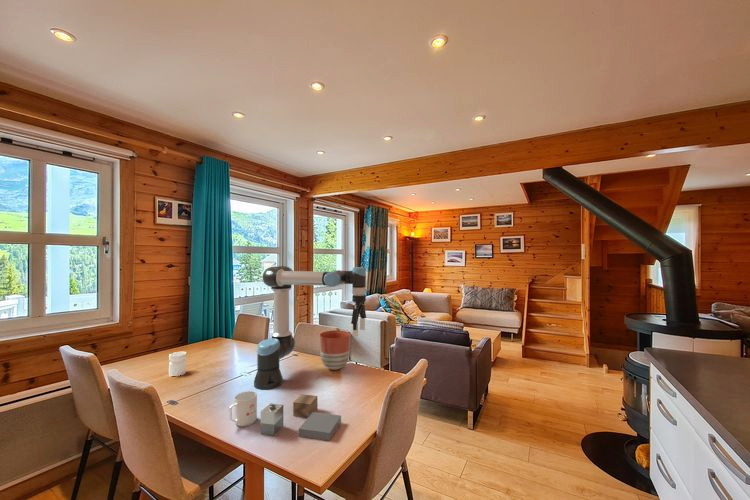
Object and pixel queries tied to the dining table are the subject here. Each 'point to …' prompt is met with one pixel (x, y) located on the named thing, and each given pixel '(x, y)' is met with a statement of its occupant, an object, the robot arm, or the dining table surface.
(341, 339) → the planter
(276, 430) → the block
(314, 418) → the slate stand
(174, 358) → the white lidded jar
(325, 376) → the dining table surface
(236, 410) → the mug
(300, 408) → the walnut stand
